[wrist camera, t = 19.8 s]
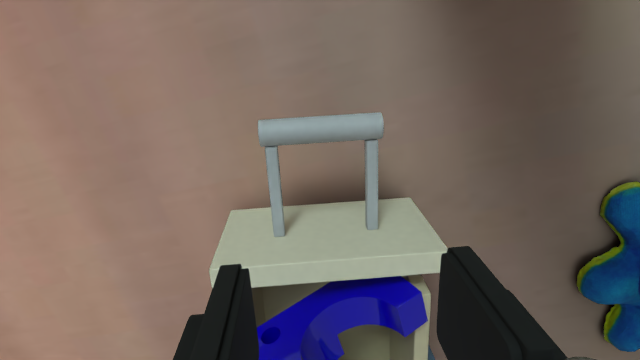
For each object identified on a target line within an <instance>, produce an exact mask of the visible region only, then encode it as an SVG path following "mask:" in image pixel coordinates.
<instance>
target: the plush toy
mask: <svg viewBox="0 0 640 360" xmlns="http://www.w3.org/2000/svg"><path fill="white" fill-rule="evenodd" d="M600 216H601V217H602V218H604V219H605V220H606V222H607V223H608V224H609V226H610V227H611V228H612V229H613V230H614V231H615V233H616V234H617V235H618V238H619V240H620V241H621V244H620V246H619V247H618V248H617V247H614V248H612V249H611V250H610V251H608V252H606V253H604V254H603V255H601V256H597V257H594V258H593V259H592V260H591V262H590V261H589V262H588V264H586V265H585V266H584V267H583V269H582V268H581V270H580V272H579V274H578V276H577V287H578V290H579V291H580V292H581V293H582V294H583V295H584V296H585V297H586V298H588V299H590V300H591V301H593V302H596V303H598V304H607V305H609V304H614V306H615V307H612V308H611V312H608V314H607V315H606V322H605V324H604V333H603V334H604V336H605V337H604V339H605V340H606V341H607V342H609V343H611V344H613V345H614V346H615V347H616V348H617V349H619V350H621V351H627V352H632V351H633V352H635V351H636V350H638V349H640V183H639V182H637V181H636V182H631V183H625V184H623V185H620V186H618V187H616V189H615V188H614V189H613V190H611V191H610V193H608V195H607V196H605V197H604V198H603V201H602V204H601V211H600Z"/></svg>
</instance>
